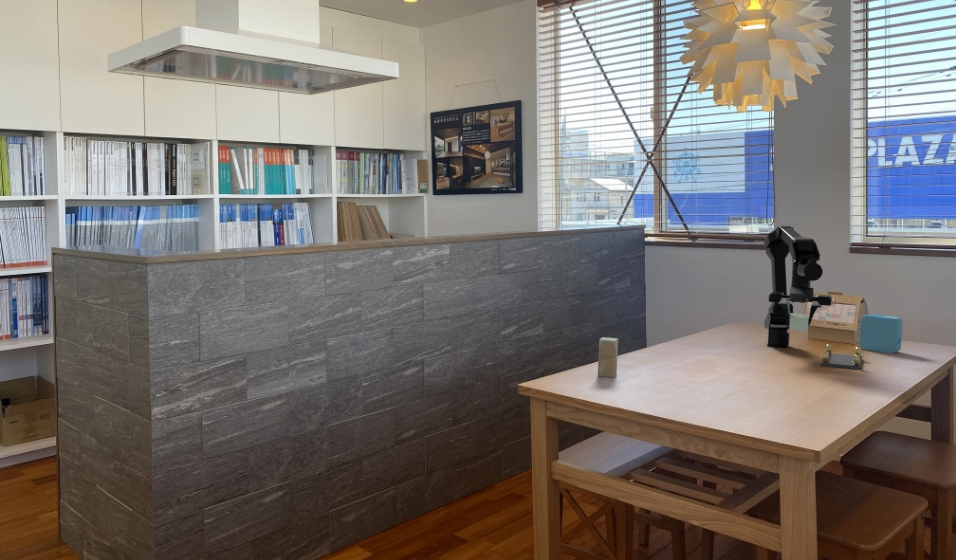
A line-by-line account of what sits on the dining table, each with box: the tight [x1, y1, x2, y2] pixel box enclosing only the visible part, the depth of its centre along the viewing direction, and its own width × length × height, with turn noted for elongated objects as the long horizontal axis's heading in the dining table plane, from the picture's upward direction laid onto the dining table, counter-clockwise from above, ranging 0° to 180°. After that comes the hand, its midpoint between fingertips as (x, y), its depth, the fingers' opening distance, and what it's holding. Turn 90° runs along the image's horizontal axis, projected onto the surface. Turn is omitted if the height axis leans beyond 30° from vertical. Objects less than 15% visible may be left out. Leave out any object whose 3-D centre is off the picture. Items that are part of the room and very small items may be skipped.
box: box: [597, 336, 619, 378], centre depth 227 cm, size 5×4×11 cm
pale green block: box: [788, 312, 810, 332], centre depth 251 cm, size 6×10×4 cm, turn 157°
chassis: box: [820, 344, 863, 371], centre depth 246 cm, size 11×17×4 cm, turn 152°
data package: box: [858, 313, 904, 354], centre depth 264 cm, size 12×4×12 cm, turn 44°
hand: (798, 324), depth 251 cm, fingers closed on pale green block, 6 cm apart
